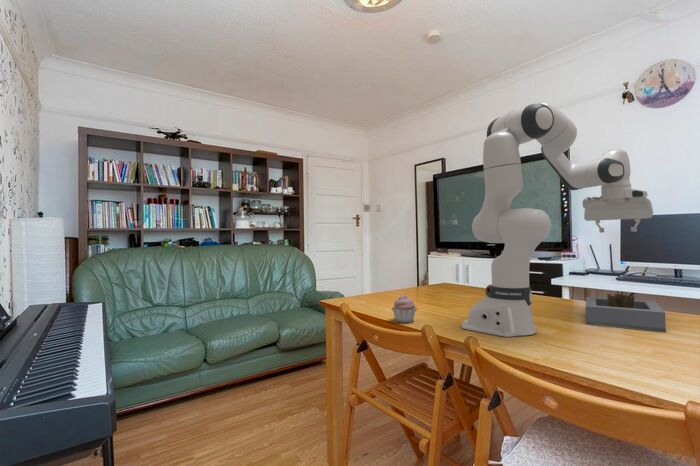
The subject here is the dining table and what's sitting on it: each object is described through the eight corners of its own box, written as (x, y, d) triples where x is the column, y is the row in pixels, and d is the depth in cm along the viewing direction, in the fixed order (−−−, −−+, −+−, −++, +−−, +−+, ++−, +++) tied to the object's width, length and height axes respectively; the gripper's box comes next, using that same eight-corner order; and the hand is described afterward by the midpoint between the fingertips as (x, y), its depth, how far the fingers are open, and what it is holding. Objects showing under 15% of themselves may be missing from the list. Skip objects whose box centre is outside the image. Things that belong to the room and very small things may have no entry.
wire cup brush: (625, 315, 122) (624, 293, 122) (640, 321, 115) (640, 296, 115) (602, 315, 123) (602, 293, 123) (617, 321, 116) (616, 297, 116)
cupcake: (409, 325, 120) (408, 297, 120) (386, 322, 126) (386, 294, 126) (422, 320, 127) (421, 293, 127) (400, 317, 134) (400, 291, 134)
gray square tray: (586, 324, 117) (585, 306, 117) (586, 312, 133) (585, 296, 133) (665, 332, 105) (665, 312, 105) (655, 318, 122) (654, 301, 122)
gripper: (582, 196, 132) (583, 233, 132) (653, 191, 120) (654, 231, 120) (582, 197, 137) (583, 232, 137) (650, 192, 125) (652, 230, 125)
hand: (617, 232), depth 128 cm, fingers open, 8 cm apart
